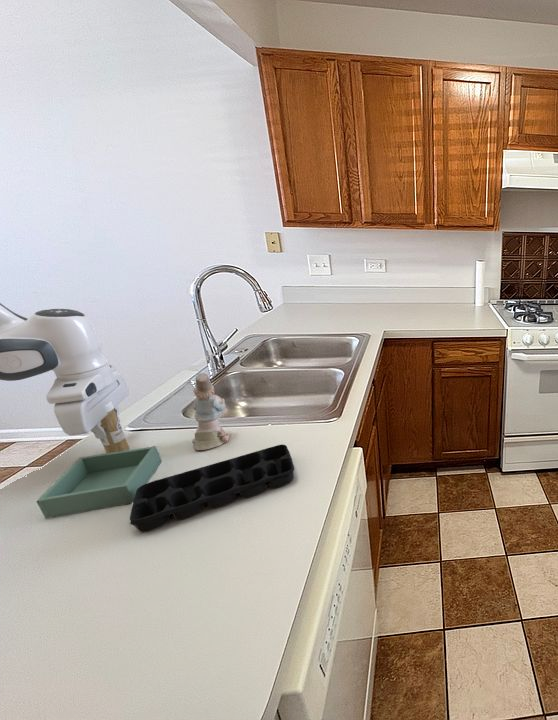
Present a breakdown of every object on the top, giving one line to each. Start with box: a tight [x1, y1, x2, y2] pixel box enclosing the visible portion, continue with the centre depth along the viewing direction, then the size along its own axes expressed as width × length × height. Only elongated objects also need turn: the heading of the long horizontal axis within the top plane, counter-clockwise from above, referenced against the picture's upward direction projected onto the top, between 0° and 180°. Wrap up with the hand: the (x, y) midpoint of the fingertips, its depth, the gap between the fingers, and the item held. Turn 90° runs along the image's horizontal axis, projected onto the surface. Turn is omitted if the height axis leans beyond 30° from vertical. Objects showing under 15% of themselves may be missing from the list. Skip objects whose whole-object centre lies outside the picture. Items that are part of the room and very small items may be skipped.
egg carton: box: [129, 444, 296, 533], centre depth 85 cm, size 18×30×4 cm, turn 135°
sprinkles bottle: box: [99, 401, 131, 454], centre depth 95 cm, size 5×5×14 cm
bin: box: [36, 445, 162, 519], centre depth 86 cm, size 15×15×4 cm
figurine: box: [191, 372, 230, 451], centre depth 99 cm, size 9×8×20 cm
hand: (109, 430), depth 95 cm, fingers closed on sprinkles bottle, 4 cm apart
